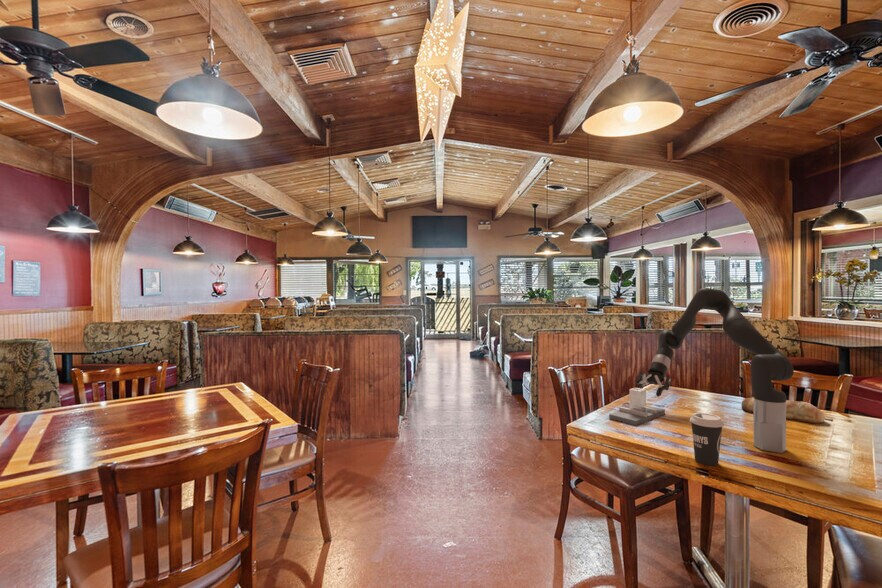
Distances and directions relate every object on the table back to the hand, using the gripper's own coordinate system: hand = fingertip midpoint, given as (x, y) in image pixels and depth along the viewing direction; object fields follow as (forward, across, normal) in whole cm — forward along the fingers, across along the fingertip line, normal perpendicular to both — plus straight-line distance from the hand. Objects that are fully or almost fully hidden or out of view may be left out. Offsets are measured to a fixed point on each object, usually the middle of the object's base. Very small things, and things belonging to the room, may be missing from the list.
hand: (648, 393), depth 195 cm
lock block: (+11, 0, -2) cm, 12 cm away
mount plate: (+13, 0, -1) cm, 13 cm away
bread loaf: (-22, +40, +35) cm, 57 cm away
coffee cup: (+35, +39, -23) cm, 57 cm away
